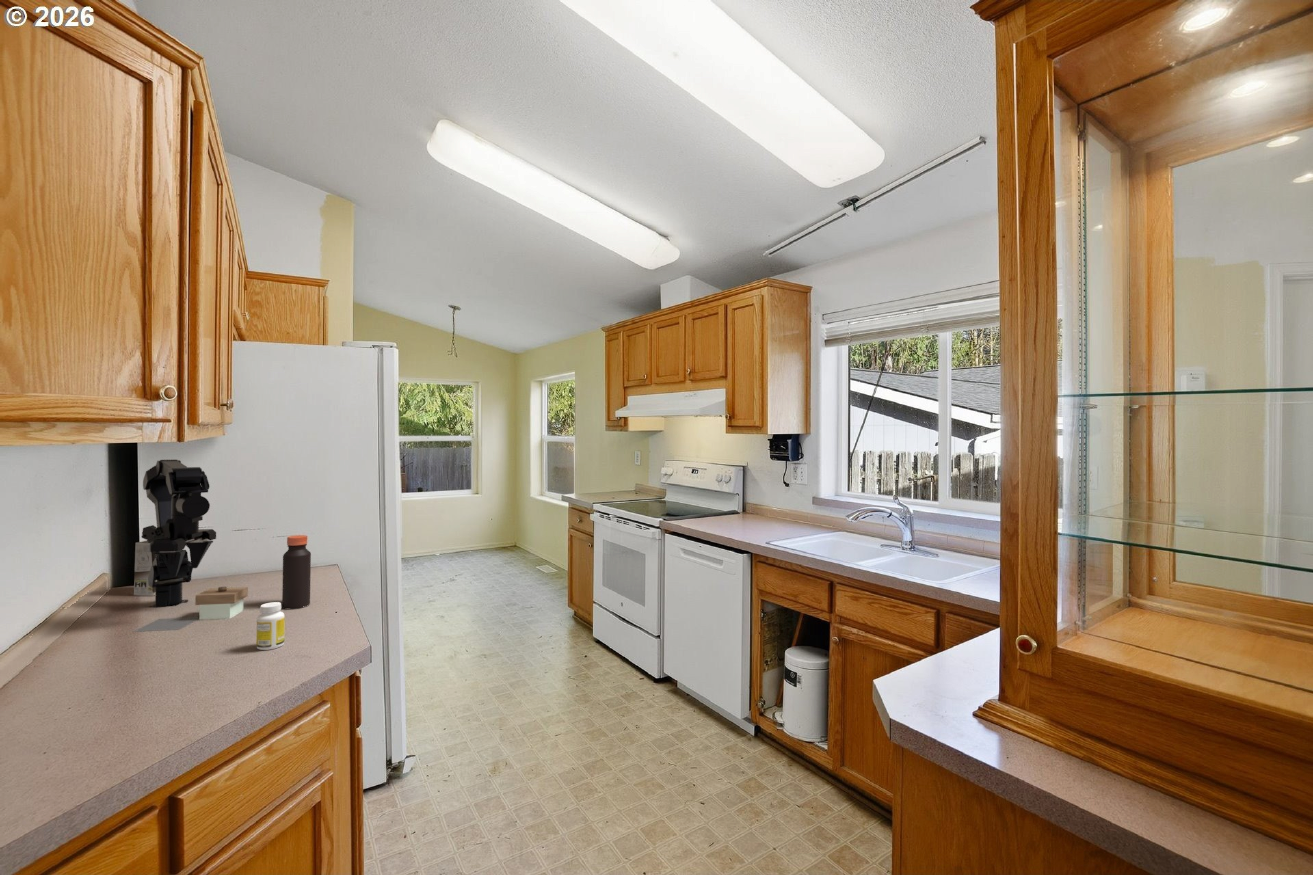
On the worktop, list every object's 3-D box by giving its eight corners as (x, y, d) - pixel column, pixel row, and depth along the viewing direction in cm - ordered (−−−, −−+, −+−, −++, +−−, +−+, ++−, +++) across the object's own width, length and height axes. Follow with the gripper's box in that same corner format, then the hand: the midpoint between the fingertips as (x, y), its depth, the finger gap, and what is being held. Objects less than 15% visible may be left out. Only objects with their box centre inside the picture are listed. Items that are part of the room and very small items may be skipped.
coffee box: (154, 596, 170) (154, 542, 170) (133, 595, 170) (133, 542, 170) (180, 588, 179) (180, 537, 179) (160, 587, 179) (160, 536, 179)
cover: (210, 597, 154) (210, 584, 154) (247, 596, 156) (247, 583, 156) (195, 605, 147) (195, 591, 147) (234, 603, 149) (234, 590, 149)
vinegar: (312, 601, 167) (313, 534, 167) (306, 608, 160) (307, 538, 160) (286, 603, 165) (287, 534, 165) (278, 610, 158) (279, 539, 158)
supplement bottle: (281, 640, 136) (282, 599, 136) (286, 646, 132) (287, 604, 132) (254, 646, 132) (254, 604, 132) (258, 652, 128) (259, 609, 128)
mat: (159, 621, 148) (159, 618, 148) (202, 619, 150) (202, 616, 150) (132, 634, 138) (132, 631, 138) (179, 631, 140) (179, 629, 140)
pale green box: (214, 613, 154) (214, 597, 154) (243, 612, 156) (243, 596, 156) (199, 622, 148) (199, 604, 148) (229, 620, 149) (230, 603, 149)
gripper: (172, 509, 159) (171, 565, 159) (125, 519, 141) (124, 582, 141) (217, 509, 161) (216, 563, 161) (176, 518, 143) (175, 580, 143)
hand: (184, 572), depth 152 cm, fingers open, 9 cm apart
